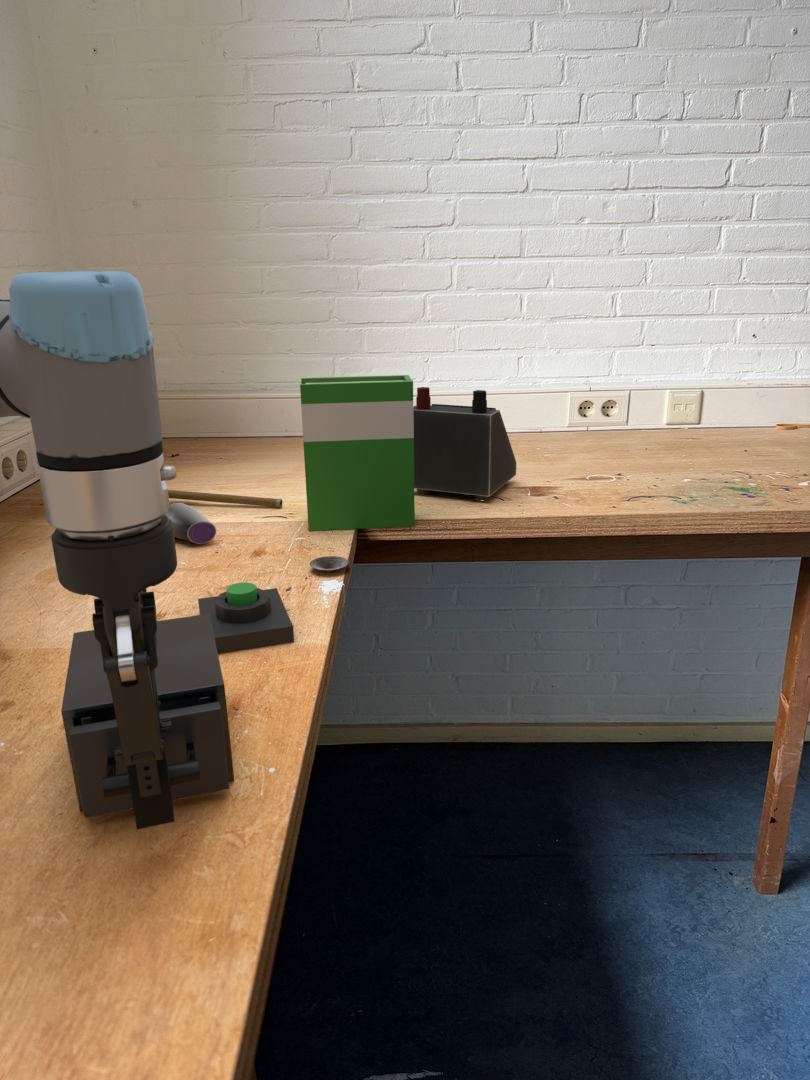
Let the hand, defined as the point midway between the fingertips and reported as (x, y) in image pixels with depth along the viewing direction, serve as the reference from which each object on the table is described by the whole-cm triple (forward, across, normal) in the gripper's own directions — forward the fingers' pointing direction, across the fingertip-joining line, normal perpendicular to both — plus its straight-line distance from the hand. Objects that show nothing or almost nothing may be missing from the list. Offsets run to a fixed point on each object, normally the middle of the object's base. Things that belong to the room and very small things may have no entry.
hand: (155, 819), depth 60 cm
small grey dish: (+4, +53, -25) cm, 58 cm away
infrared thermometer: (+4, +73, -2) cm, 73 cm away
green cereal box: (+4, +73, -35) cm, 81 cm away
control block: (+3, +38, -11) cm, 39 cm away
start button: (0, +38, -11) cm, 39 cm away
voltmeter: (+4, +86, -59) cm, 104 cm away
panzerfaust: (+4, +94, -8) cm, 94 cm away
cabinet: (+3, +15, 0) cm, 15 cm away
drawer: (+2, +10, 0) cm, 10 cm away
